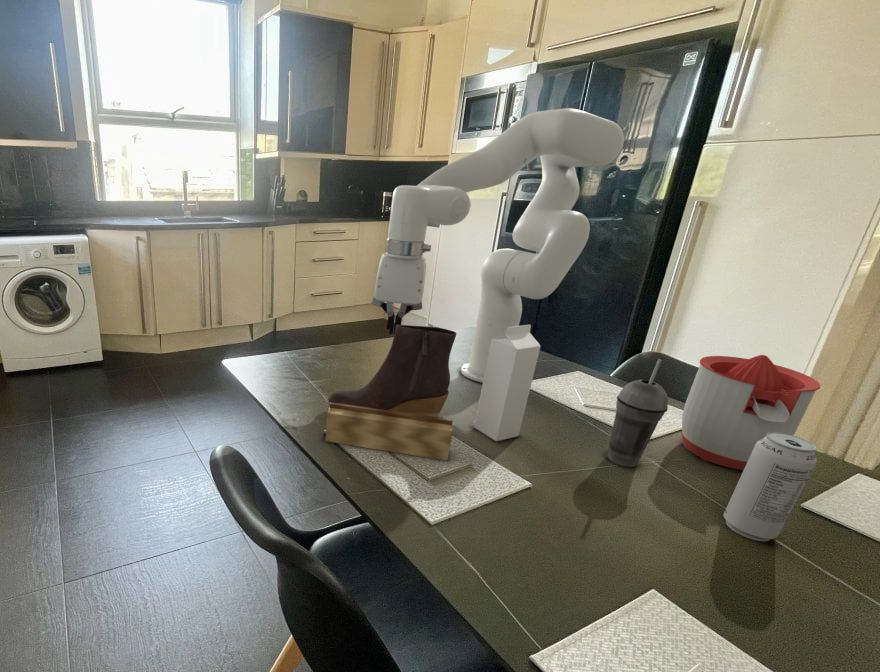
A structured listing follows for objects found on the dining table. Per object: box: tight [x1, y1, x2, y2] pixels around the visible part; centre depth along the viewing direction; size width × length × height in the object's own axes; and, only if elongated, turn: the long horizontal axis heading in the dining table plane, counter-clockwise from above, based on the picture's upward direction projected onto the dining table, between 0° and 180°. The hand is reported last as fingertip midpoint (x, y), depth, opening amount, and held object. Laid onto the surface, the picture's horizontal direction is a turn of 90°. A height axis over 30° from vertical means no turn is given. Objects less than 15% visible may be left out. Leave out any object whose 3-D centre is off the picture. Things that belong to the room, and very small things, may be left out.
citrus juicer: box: [680, 354, 821, 471], centre depth 86 cm, size 16×17×20 cm
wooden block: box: [324, 402, 454, 461], centre depth 89 cm, size 22×3×7 cm, turn 75°
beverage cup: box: [607, 358, 669, 468], centre depth 84 cm, size 7×7×20 cm
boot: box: [326, 324, 457, 417], centre depth 98 cm, size 9×24×20 cm, turn 84°
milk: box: [473, 324, 541, 442], centre depth 92 cm, size 6×6×22 cm
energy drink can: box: [723, 432, 818, 542], centre depth 68 cm, size 6×6×15 cm
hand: (393, 332), depth 107 cm, fingers closed
